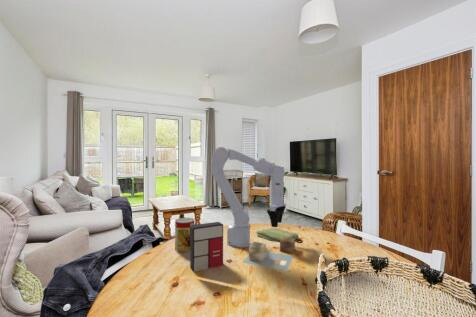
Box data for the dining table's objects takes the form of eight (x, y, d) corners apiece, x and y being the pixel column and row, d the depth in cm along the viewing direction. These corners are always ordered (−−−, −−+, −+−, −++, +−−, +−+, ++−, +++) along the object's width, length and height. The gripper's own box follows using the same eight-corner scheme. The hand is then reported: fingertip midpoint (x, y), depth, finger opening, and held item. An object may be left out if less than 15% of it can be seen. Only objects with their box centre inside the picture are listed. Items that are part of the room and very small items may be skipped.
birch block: (248, 259, 85) (249, 246, 85) (253, 254, 90) (253, 241, 90) (262, 262, 83) (262, 248, 83) (266, 256, 88) (266, 243, 88)
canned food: (196, 250, 97) (196, 221, 97) (177, 253, 93) (177, 223, 93) (191, 243, 104) (191, 216, 104) (173, 246, 100) (173, 218, 100)
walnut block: (279, 253, 93) (280, 241, 94) (282, 249, 98) (282, 237, 98) (292, 255, 91) (292, 242, 92) (294, 251, 96) (294, 239, 96)
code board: (242, 264, 83) (242, 262, 83) (254, 251, 95) (254, 249, 95) (286, 273, 77) (287, 270, 77) (293, 258, 89) (293, 255, 89)
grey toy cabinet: (193, 274, 76) (193, 228, 76) (189, 269, 80) (189, 225, 80) (224, 267, 81) (224, 224, 81) (219, 262, 85) (219, 221, 85)
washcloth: (272, 231, 124) (272, 225, 124) (300, 240, 111) (300, 233, 111) (254, 236, 116) (254, 229, 116) (282, 246, 102) (282, 239, 102)
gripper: (282, 196, 93) (282, 230, 93) (289, 191, 106) (289, 221, 106) (265, 195, 96) (265, 228, 96) (274, 190, 109) (273, 219, 109)
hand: (276, 224), depth 101 cm, fingers open, 7 cm apart
